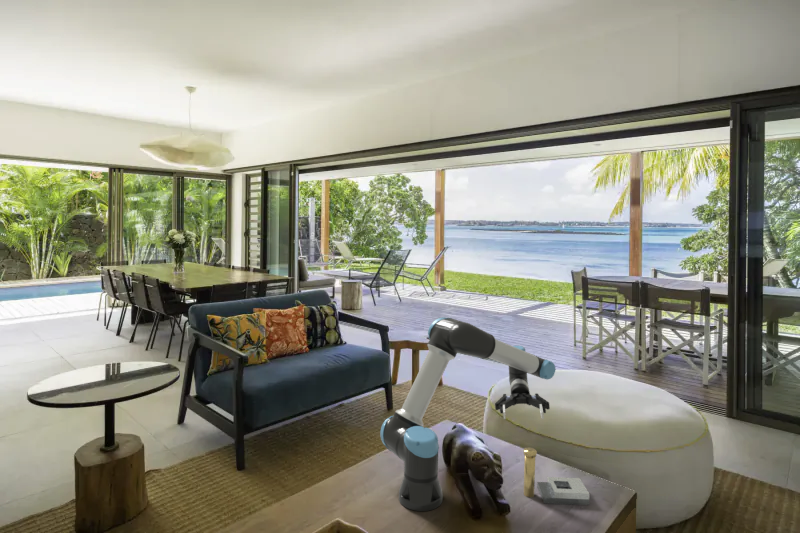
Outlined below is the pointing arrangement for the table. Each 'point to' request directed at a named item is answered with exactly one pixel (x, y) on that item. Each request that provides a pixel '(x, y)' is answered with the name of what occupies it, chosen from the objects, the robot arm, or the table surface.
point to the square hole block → (563, 491)
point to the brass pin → (529, 471)
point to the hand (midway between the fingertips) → (523, 415)
